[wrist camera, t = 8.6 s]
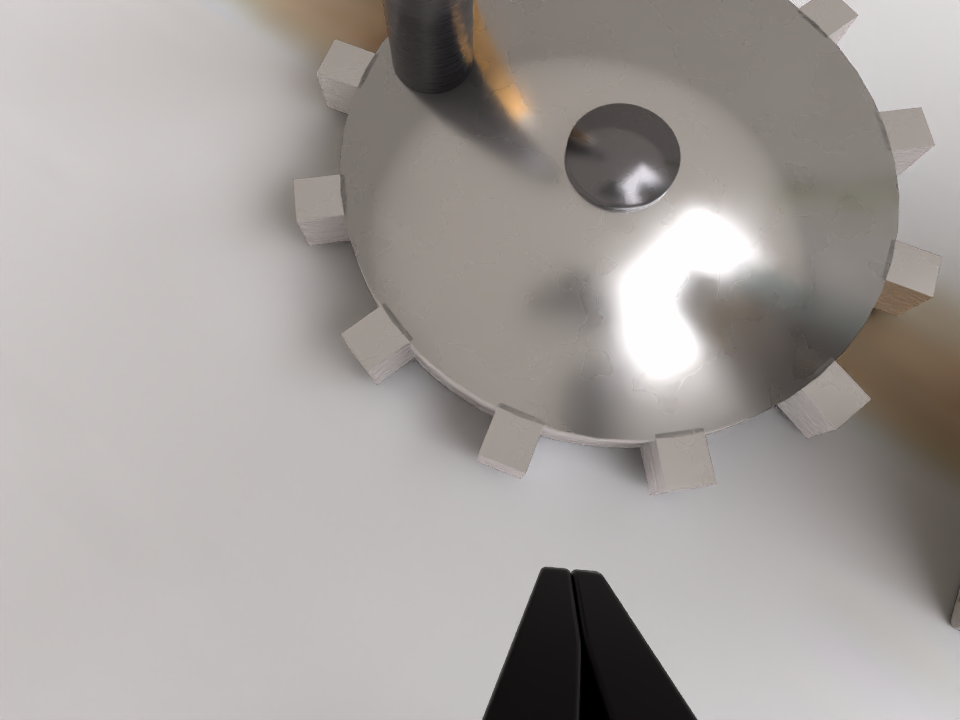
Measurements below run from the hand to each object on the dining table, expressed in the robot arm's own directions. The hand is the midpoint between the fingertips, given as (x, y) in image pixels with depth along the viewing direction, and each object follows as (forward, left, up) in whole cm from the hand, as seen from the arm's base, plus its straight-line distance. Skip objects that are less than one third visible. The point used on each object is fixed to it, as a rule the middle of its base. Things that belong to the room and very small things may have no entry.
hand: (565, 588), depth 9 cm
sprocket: (+14, +2, -14) cm, 20 cm away
